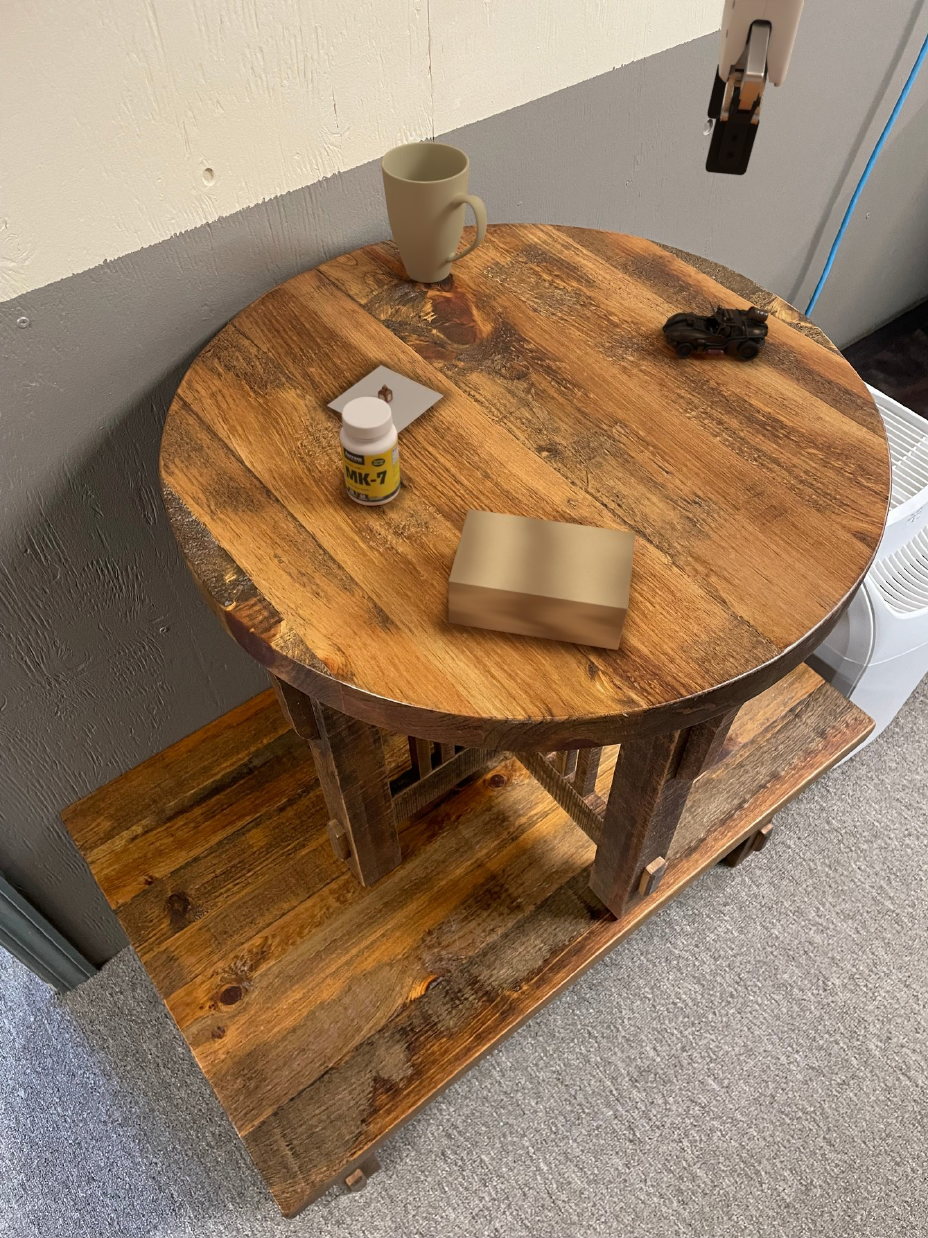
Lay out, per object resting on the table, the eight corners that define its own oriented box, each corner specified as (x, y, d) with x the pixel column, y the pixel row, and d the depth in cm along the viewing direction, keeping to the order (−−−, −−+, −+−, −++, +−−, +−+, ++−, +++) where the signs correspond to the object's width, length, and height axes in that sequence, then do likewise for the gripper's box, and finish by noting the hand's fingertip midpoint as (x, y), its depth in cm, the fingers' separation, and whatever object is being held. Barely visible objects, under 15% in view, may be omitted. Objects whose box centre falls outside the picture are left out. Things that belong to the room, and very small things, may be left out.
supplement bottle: (341, 504, 74) (329, 427, 68) (352, 467, 77) (342, 390, 71) (395, 510, 74) (389, 433, 67) (405, 472, 77) (400, 395, 70)
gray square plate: (326, 405, 83) (324, 389, 81) (381, 365, 87) (379, 349, 85) (391, 439, 80) (389, 422, 78) (444, 395, 84) (443, 379, 82)
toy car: (770, 361, 87) (783, 323, 84) (652, 363, 87) (660, 324, 84) (756, 326, 91) (768, 288, 88) (642, 327, 91) (650, 289, 87)
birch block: (625, 575, 70) (635, 532, 66) (617, 650, 65) (627, 609, 61) (467, 551, 71) (468, 508, 67) (448, 623, 66) (448, 581, 63)
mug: (384, 297, 94) (375, 185, 85) (392, 249, 100) (385, 140, 91) (484, 299, 94) (487, 188, 84) (486, 251, 100) (489, 142, 90)
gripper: (858, -79, 52) (774, 200, 66) (837, -151, 63) (768, 104, 76) (732, -88, 53) (675, 190, 67) (732, -157, 64) (682, 96, 77)
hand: (725, 144), depth 72 cm, fingers open, 9 cm apart
